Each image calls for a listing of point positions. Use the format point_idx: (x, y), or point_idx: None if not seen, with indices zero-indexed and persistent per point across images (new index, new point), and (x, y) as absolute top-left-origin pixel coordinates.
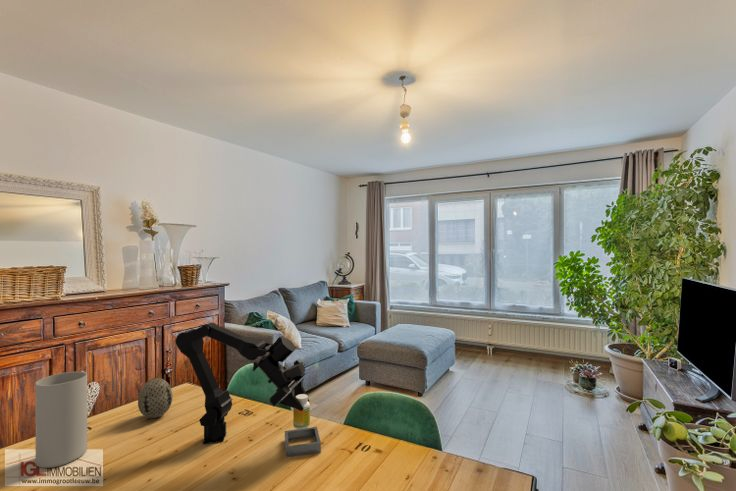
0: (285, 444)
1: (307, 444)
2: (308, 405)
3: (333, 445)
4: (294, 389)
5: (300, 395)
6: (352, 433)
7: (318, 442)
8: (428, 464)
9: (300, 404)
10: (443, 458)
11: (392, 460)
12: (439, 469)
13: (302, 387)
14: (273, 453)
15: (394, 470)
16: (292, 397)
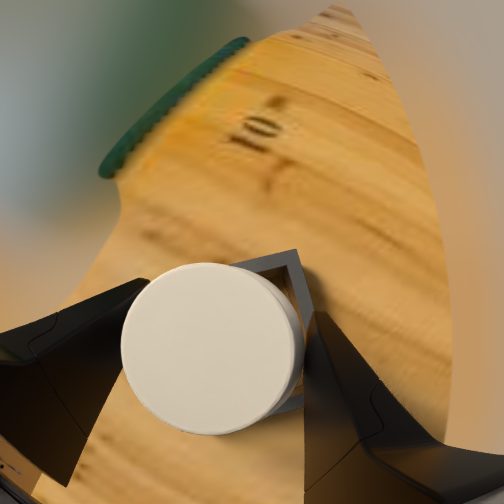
0: (293, 408)
1: (310, 306)
2: (250, 271)
3: (243, 219)
4: (44, 449)
5: (168, 370)
6: (167, 165)
7: (292, 259)
8: (323, 46)
9: (337, 340)
10: (299, 31)
11: (319, 84)
12: (335, 40)
13: (18, 343)
14: (293, 442)
15: (356, 88)
16: (430, 444)
